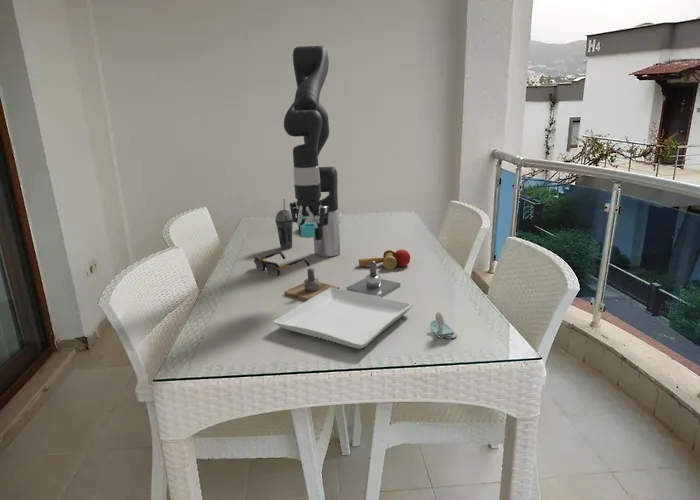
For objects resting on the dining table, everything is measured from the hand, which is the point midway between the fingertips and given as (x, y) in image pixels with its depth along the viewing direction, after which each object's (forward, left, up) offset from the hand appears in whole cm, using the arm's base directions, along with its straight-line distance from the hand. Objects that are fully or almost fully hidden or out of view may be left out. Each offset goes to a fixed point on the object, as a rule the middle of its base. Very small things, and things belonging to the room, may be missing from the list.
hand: (310, 238), depth 146 cm
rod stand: (0, -1, -17) cm, 17 cm away
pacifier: (+46, -3, -18) cm, 50 cm away
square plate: (+22, -12, -18) cm, 30 cm away
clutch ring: (0, 0, +1) cm, 1 cm away
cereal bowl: (-49, +60, -18) cm, 80 cm away
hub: (+14, +12, -17) cm, 25 cm away
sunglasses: (-26, +11, -18) cm, 34 cm away
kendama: (+4, +32, -18) cm, 37 cm away
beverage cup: (-42, +29, -18) cm, 55 cm away
